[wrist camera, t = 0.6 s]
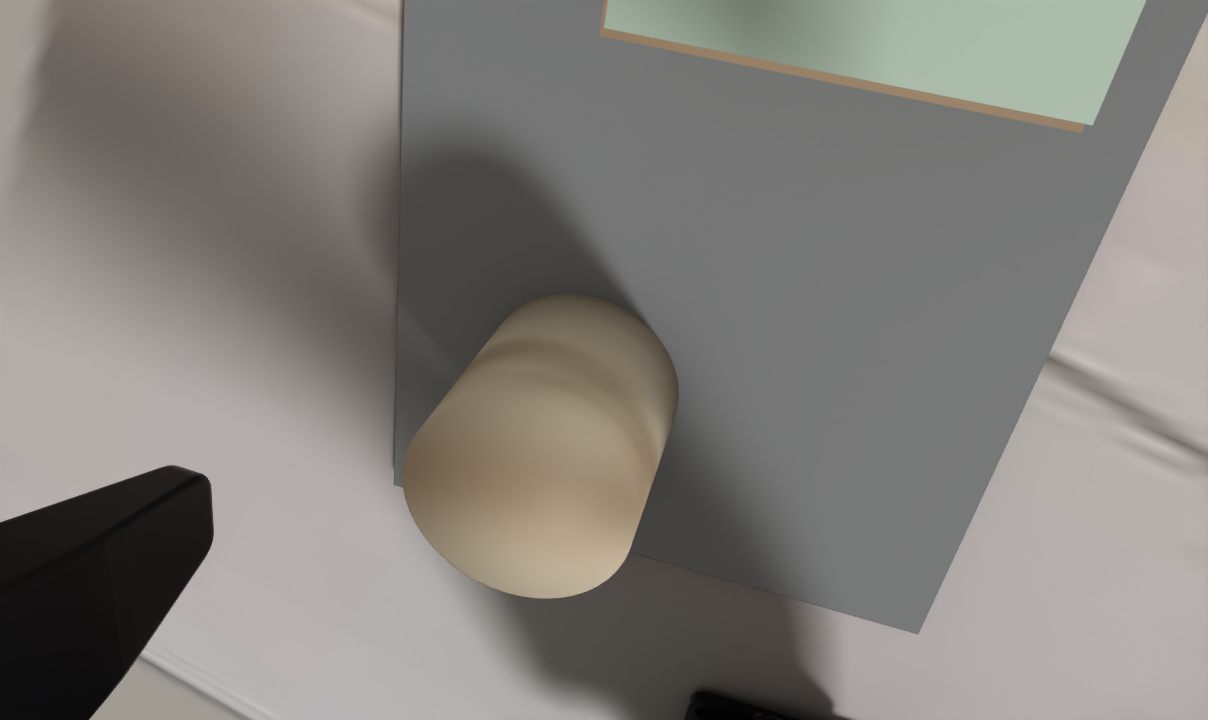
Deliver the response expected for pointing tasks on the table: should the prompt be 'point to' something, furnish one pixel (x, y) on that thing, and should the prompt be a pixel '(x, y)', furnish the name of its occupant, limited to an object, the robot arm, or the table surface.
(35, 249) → the table surface
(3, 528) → the robot arm
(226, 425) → the table surface
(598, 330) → the maple cylinder
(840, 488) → the rubber mat
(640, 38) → the walnut base block
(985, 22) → the sage top block
